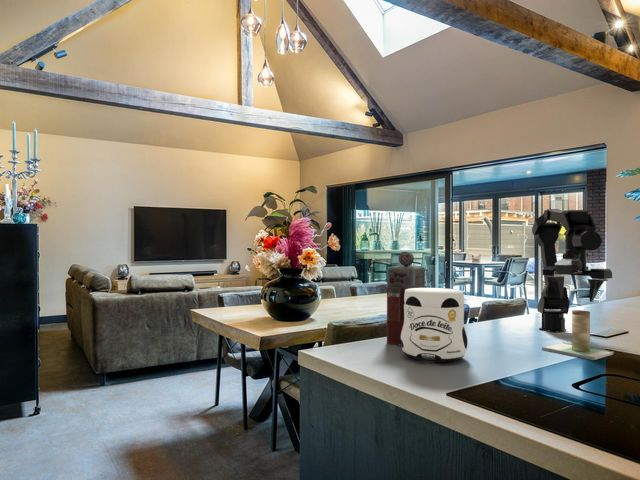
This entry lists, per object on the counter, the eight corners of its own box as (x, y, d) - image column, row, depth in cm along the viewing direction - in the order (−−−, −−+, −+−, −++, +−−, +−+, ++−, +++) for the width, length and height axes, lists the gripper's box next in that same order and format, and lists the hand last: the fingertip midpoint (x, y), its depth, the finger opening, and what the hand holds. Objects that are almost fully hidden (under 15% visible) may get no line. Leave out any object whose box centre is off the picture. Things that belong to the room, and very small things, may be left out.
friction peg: (571, 350, 128) (571, 311, 128) (572, 347, 131) (572, 309, 131) (589, 353, 125) (589, 313, 125) (590, 350, 129) (590, 311, 129)
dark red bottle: (383, 344, 137) (383, 251, 138) (398, 338, 147) (398, 251, 147) (410, 348, 132) (411, 252, 133) (425, 341, 142) (425, 251, 142)
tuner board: (542, 349, 132) (542, 347, 132) (563, 344, 138) (563, 342, 138) (593, 360, 120) (593, 357, 120) (613, 354, 126) (613, 351, 126)
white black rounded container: (419, 368, 112) (419, 295, 112) (390, 352, 128) (390, 288, 128) (481, 364, 116) (481, 293, 116) (445, 348, 133) (445, 286, 133)
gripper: (532, 249, 145) (532, 298, 145) (594, 250, 130) (594, 305, 130) (551, 249, 152) (551, 296, 152) (613, 250, 136) (613, 302, 136)
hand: (575, 300), depth 142 cm, fingers open, 9 cm apart
